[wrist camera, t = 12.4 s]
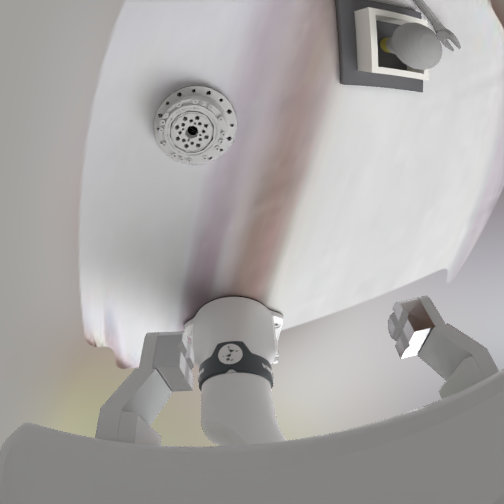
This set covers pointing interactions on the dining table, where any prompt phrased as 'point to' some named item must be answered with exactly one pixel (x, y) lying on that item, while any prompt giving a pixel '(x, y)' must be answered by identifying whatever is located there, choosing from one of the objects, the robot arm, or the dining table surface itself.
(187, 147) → the mechanical component
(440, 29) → the combination wrench
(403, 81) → the lamp base
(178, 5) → the dining table surface
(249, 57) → the dining table surface
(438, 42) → the light bulb
